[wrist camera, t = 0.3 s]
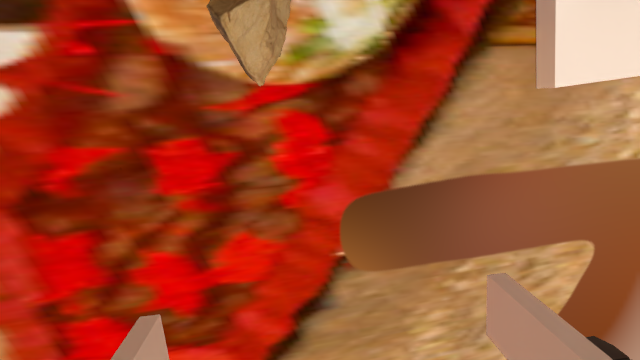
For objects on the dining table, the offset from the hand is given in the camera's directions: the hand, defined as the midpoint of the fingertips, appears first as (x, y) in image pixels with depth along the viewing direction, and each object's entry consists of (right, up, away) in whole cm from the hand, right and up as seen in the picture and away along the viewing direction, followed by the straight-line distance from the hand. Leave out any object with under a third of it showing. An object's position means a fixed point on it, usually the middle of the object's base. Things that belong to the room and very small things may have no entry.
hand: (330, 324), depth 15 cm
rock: (-6, +22, +23) cm, 32 cm away
